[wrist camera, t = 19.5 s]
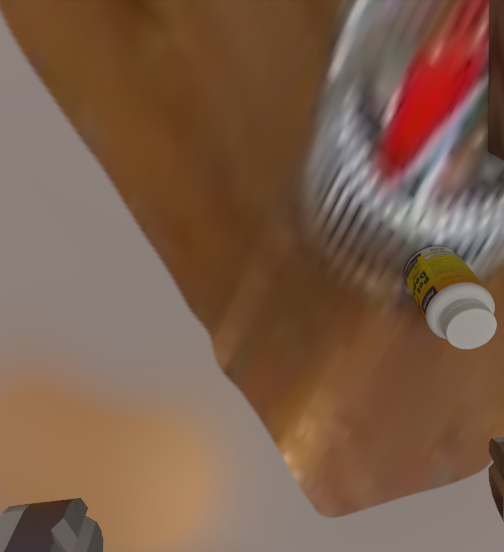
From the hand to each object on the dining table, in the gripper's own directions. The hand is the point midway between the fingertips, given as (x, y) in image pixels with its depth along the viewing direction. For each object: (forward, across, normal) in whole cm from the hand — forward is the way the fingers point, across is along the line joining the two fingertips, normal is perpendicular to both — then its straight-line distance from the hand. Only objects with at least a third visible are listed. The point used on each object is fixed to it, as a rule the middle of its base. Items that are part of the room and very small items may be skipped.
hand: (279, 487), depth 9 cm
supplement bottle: (+35, -13, +17) cm, 41 cm away
